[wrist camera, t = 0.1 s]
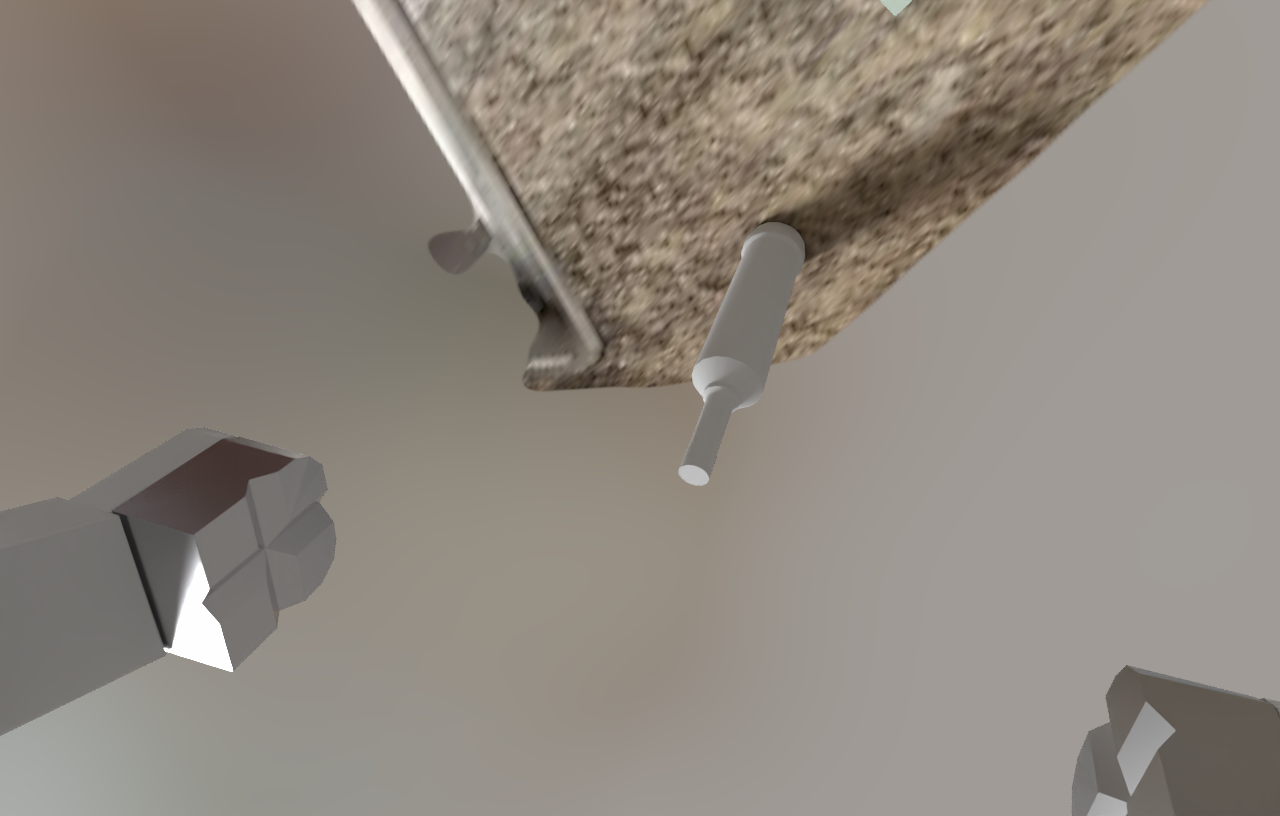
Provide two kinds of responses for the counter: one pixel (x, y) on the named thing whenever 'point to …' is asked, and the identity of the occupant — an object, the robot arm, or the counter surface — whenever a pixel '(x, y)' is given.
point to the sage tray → (895, 5)
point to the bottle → (742, 339)
